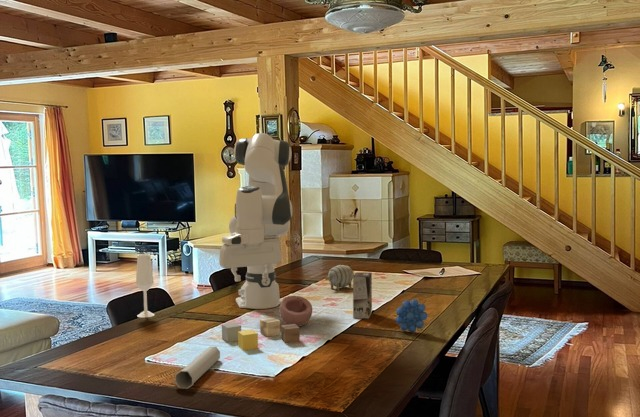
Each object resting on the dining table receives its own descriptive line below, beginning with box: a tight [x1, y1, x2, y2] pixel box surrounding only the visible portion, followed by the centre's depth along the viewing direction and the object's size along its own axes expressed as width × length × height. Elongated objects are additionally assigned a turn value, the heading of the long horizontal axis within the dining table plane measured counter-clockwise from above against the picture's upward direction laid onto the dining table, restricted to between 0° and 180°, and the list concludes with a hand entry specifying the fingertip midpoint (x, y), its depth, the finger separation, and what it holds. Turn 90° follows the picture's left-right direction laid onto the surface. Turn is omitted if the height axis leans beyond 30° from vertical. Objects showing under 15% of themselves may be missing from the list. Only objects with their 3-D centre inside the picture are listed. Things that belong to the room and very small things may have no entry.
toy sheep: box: [324, 264, 355, 291], centre depth 294 cm, size 11×17×11 cm, turn 134°
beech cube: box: [259, 317, 281, 338], centre depth 221 cm, size 5×5×5 cm
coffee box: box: [352, 272, 373, 319], centre depth 244 cm, size 9×6×16 cm
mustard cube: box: [237, 329, 259, 351], centre depth 206 cm, size 5×5×5 cm
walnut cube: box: [280, 324, 301, 345], centre depth 212 cm, size 5×5×5 cm
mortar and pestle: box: [278, 295, 313, 327], centre depth 230 cm, size 12×12×12 cm
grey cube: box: [221, 322, 242, 343], centre depth 215 cm, size 5×5×5 cm
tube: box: [174, 346, 221, 389], centre depth 182 cm, size 5×5×25 cm
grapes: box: [395, 298, 428, 334], centre depth 221 cm, size 12×7×12 cm, turn 62°
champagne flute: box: [135, 253, 155, 318], centre depth 248 cm, size 7×7×24 cm
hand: (251, 279), depth 204 cm, fingers open, 8 cm apart
